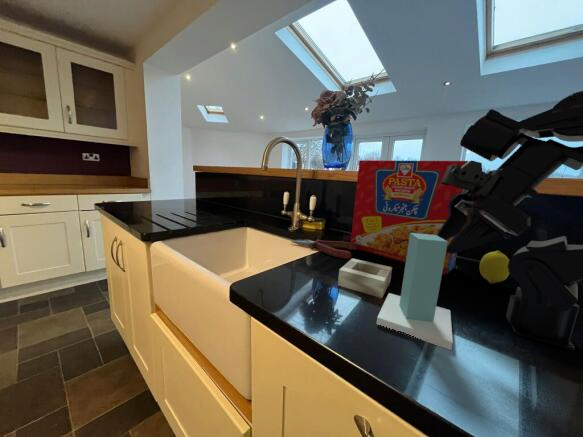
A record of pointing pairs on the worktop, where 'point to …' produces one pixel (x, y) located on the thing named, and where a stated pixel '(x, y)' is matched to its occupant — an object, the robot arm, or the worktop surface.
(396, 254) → the pasta box
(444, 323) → the pad
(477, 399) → the worktop surface
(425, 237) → the post
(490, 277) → the lemon
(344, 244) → the pliers
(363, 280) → the socket block
